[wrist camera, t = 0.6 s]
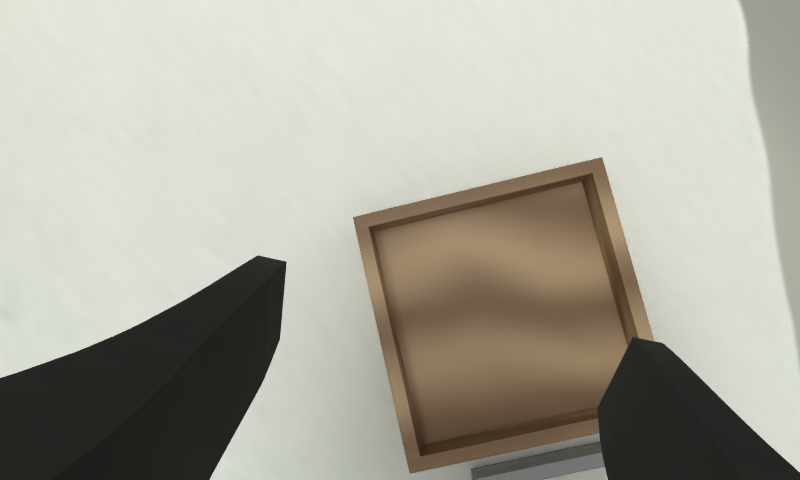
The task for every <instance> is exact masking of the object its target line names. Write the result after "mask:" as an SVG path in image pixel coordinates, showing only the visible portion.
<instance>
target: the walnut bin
mask: <svg viewBox="0 0 800 480" xmlns="http://www.w3.org/2000/svg"><path fill="white" fill-rule="evenodd" d="M353 219H354V224H355V228H356V233H357V237H358V242H359V246H360V251H361V255H362V260H363V264H364V269H365V273H366V278H367V282H368V287H369V291H370V296H371V301H372V305H373V310H374V314H375V319H376V323H377V328H378V332H379V337H380V341H381V346H382V350H383V355H384V359H385V364H386V368H387V373H388V377H389V382H390V386H391V391H392V395H393V400H394V404H395V409H396V413H397V418H398V422H399V427H400V431H401V436H402V440H403V445H404V450H405V454H406V459H407V463H408V468H409V472H410V473H415V472H419V471H424V470H429V469H433V468H438V467H443V466H447V465H452V464H457V463H461V462H466V461H471V460H475V459H480V458H485V457H489V456H494V455H499V454H503V453H508V452H513V451H517V450H522V449H526V448H531V447H536V446H540V445H545V444H550V443H554V442H559V441H564V440H568V439H573V438H578V437H582V436H587V435H592V434H596V433H599V423H598V412H597V408H598V406H599V404H600V402H601V400H602V398H603V396H604V394H605V392H606V390H607V388H608V386H609V384H610V382H611V380H612V378H613V376H614V374H615V372H616V370H617V368H618V366H619V364H620V362H621V360H622V358H623V356H624V354H625V352H626V350H627V348H628V346H629V344H630V342H631V340H632V338H633V337H636V338H641V339H645V340H650V341H654V339H653V335H652V332H651V328H650V325H649V321H648V318H647V314H646V311H645V307H644V303H643V300H642V296H641V293H640V289H639V286H638V282H637V279H636V275H635V272H634V268H633V265H632V261H631V258H630V254H629V251H628V247H627V244H626V240H625V237H624V233H623V230H622V226H621V222H620V219H619V215H618V212H617V208H616V205H615V201H614V198H613V194H612V191H611V187H610V184H609V180H608V177H607V173H606V170H605V166H604V163H603V159H602V157H601V158H597V159H593V160H589V161H585V162H580V163H576V164H572V165H568V166H564V167H560V168H556V169H551V170H547V171H543V172H539V173H535V174H531V175H527V176H522V177H518V178H514V179H510V180H506V181H502V182H498V183H493V184H489V185H485V186H481V187H477V188H473V189H469V190H464V191H460V192H456V193H452V194H448V195H444V196H440V197H435V198H431V199H427V200H423V201H419V202H415V203H411V204H406V205H402V206H398V207H394V208H390V209H386V210H382V211H377V212H373V213H369V214H365V215H361V216H357V217H353Z"/></svg>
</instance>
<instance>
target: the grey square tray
mask: <svg viewBox="0 0 800 480" xmlns="http://www.w3.org/2000/svg"><path fill="white" fill-rule="evenodd" d="M604 466H605V464H604V460H603V456H602V449H601V442H597V443H592V444H587V445H583V446H578V447H573V448H569V449H564V450H559V451H555V452H550V453H545V454H541V455H536V456H531V457H526V458H522V459H517V460H512V461H508V462H503V463H498V464H494V465H489V466H484V467H480V468H475V469H471V470H472V476H473V480H543V479H547V478H552V477H557V476H562V475H566V474H571V473H576V472H581V471H585V470H590V469H595V468H599V467H604Z"/></svg>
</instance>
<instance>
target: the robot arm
mask: <svg viewBox="0 0 800 480" xmlns="http://www.w3.org/2000/svg"><path fill="white" fill-rule="evenodd" d="M285 273H286V262H285V261H280V260H276V259H271V258H267V257H262V256H256V257H254V258H253V259H251V260H249V261H248V262H246V263H245V264H243V265H241V266H240V267H238V268H236V269H235V270H233V271H232V272H230V273H228V274H227V275H225V276H224V277H222V278H220V279H219V280H217V281H216V282H214V283H212V284H211V285H209V286H208V287H206V288H204V289H203V290H201V291H199V292H197V293H196V294H194V295H192V296H191V297H189V298H187V299H186V300H184V301H182V302H180V303H179V304H177V305H175V306H173V307H171V308H169V309H167V310H165V311H164V312H162V313H160V314H158V315H156V316H154V317H152V318H150V319H148V320H147V321H145V322H143V323H141V324H139V325H137V326H135V327H133V328H131V329H128V330H126V331H124V332H122V333H120V334H118V335H115V336H113V337H111V338H108V339H106V340H104V341H101V342H99V343H97V344H94V345H92V346H90V347H87V348H85V349H82V350H80V351H77V352H75V353H72V354H69V355H66V356H63V357H60V358H58V359H55V360H52V361H49V362H46V363H44V364H41V365H38V366H35V367H32V368H29V369H27V370H24V371H21V372H18V373H15V374H12V375H9V376H6V377H2V378H0V480H209V479H210V477H211V475H212V473H213V472H214V470H215V468H216V466H217V464H218V462H219V461H220V459H221V457H222V455H223V453H224V452H225V450H226V448H227V446H228V444H229V443H230V441H231V439H232V437H233V435H234V433H235V432H236V430H237V428H238V426H239V424H240V423H241V421H242V419H243V417H244V415H245V414H246V412H247V410H248V408H249V406H250V404H251V403H252V401H253V399H254V397H255V395H256V393H257V392H258V390H259V388H260V386H261V384H262V382H263V380H264V378H265V375H266V373H267V370H268V368H269V365H270V363H271V361H272V358H273V355H274V353H275V350H276V348H277V345H278V342H279V340H280V331H281V320H282V308H283V296H284V284H285ZM597 412H598V423H599V433H600V441H601V449H602V456H603V460H604V464H605V468H606V472H607V476H608V480H800V472H798V471H797V470H796V469H795V468H794V467H793V466H792V465H791V464H790V463H788V462H787V461H786V460H785V459H784V458H783V457H782V456H781V455H779V454H778V453H777V452H776V451H775V450H774V449H773V448H772V447H771V446H769V445H768V444H767V443H766V442H765V441H764V440H763V439H762V438H761V437H760V436H759V435H758V434H757V433H756V432H755V431H753V430H752V429H751V428H750V427H749V426H748V425H747V424H746V423H745V422H744V421H743V420H742V419H741V418H740V417H739V416H738V415H737V414H736V413H735V412H734V411H733V410H732V409H731V408H730V407H729V406H728V405H727V404H726V403H725V402H724V401H723V400H722V399H721V398H720V397H719V396H718V395H717V394H716V393H715V392H714V391H713V390H712V389H711V388H710V387H709V386H708V385H707V384H706V383H705V382H703V381H702V380H701V379H700V378H699V377H698V376H697V375H696V374H695V373H694V372H693V371H692V370H691V369H690V368H689V367H688V366H687V365H686V364H685V363H684V362H683V361H682V360H681V359H680V358H679V357H678V356H677V355H676V354H675V353H674V352H672V351H671V350H670V349H669V348H668V347H667V346H665V345H664V344H663V343H659V342H654V341H650V340H645V339H641V338H636V337H633V338H632V340H631V342H630V344H629V346H628V348H627V350H626V352H625V354H624V356H623V358H622V360H621V362H620V364H619V366H618V368H617V370H616V372H615V374H614V376H613V378H612V380H611V382H610V384H609V386H608V388H607V390H606V392H605V394H604V396H603V398H602V400H601V402H600V404H599V406H598V408H597Z"/></svg>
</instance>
